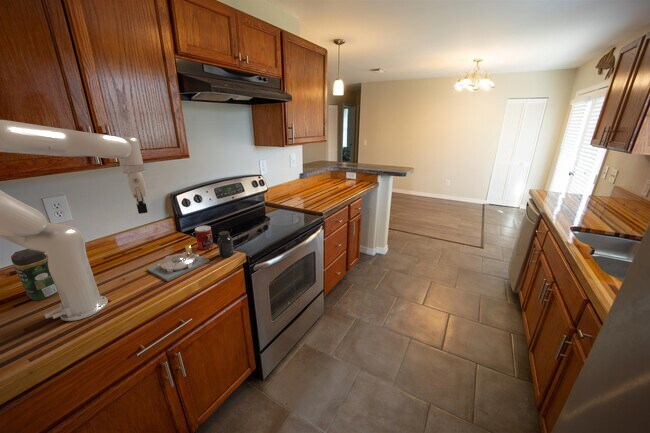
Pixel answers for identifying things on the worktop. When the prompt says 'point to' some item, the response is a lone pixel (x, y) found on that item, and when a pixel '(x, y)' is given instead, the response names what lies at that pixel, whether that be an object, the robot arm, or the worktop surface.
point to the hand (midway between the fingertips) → (143, 212)
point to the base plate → (170, 276)
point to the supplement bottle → (225, 244)
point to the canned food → (204, 237)
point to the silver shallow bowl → (178, 261)
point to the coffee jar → (34, 273)
